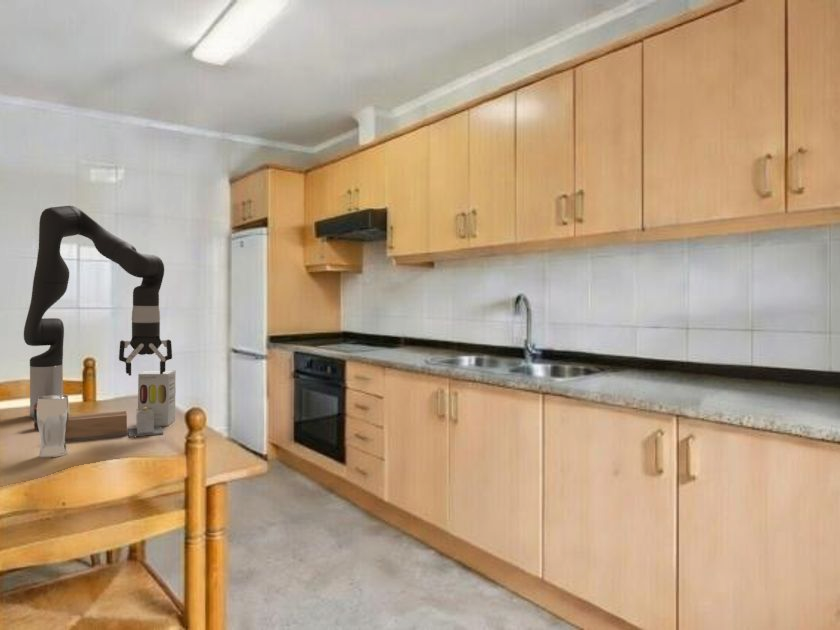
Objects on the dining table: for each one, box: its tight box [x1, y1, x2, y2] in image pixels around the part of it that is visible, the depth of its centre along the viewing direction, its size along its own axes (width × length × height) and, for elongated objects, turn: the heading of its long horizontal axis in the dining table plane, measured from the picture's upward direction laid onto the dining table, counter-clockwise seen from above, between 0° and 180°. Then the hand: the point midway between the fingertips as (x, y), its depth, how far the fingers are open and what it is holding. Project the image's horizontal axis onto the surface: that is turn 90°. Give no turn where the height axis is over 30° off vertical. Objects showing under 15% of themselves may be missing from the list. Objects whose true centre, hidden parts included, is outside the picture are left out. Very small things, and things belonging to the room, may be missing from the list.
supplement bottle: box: [33, 397, 39, 430], centre depth 167 cm, size 5×5×10 cm
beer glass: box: [37, 394, 70, 459], centre depth 139 cm, size 7×7×15 cm
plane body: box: [65, 410, 129, 443], centre depth 158 cm, size 7×18×6 cm, turn 120°
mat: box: [127, 425, 164, 438], centre depth 163 cm, size 10×9×1 cm
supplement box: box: [137, 369, 176, 427], centre depth 176 cm, size 10×9×17 cm
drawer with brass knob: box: [135, 407, 154, 434], centre depth 163 cm, size 4×8×7 cm, turn 30°
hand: (145, 374), depth 163 cm, fingers open, 8 cm apart
